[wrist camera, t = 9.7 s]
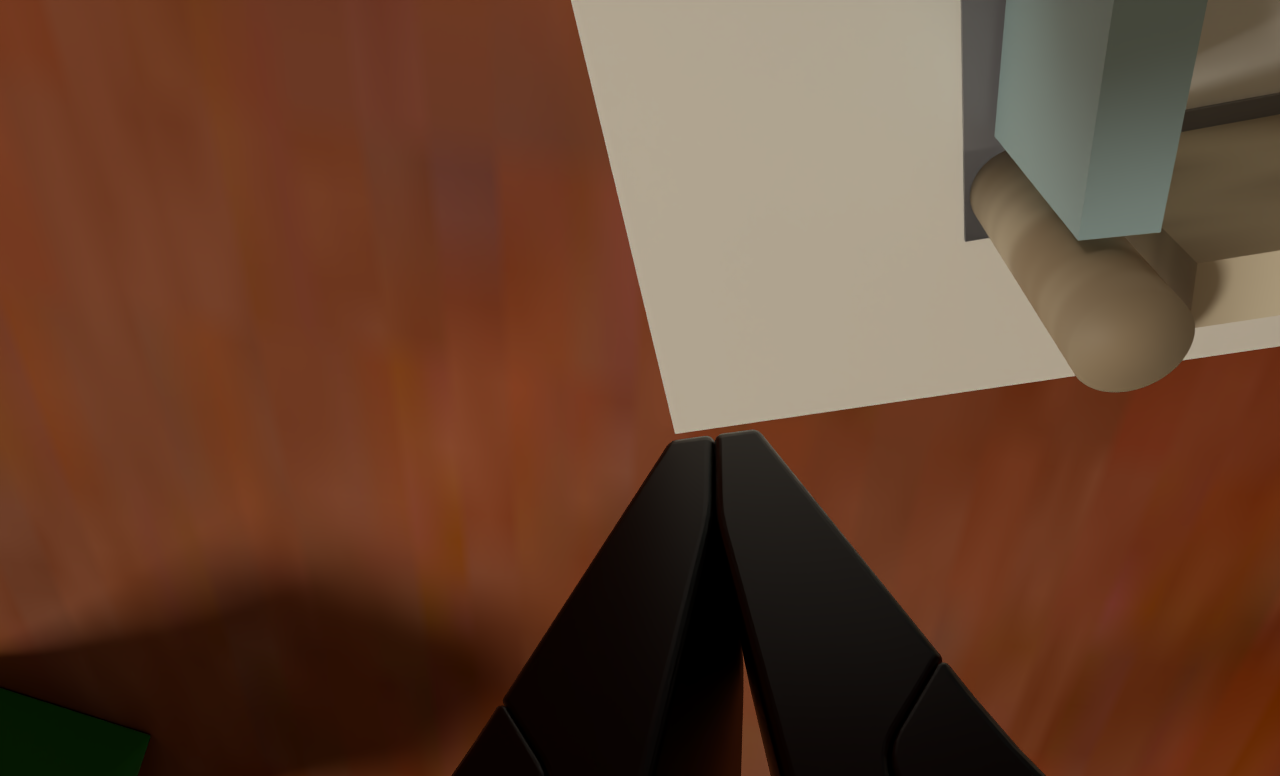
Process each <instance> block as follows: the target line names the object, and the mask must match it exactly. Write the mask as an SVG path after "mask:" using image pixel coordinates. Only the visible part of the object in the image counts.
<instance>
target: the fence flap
mask: <svg viewBox="0 0 1280 776" xmlns="http://www.w3.org/2000/svg"><path fill="white" fill-rule="evenodd" d="M1207 2H1208V0H1006V8H1005V19H1004V31H1003V42H1002V54H1001V66H1000V77H999V89H998V100H997V112H996V123H995V135H994V136H995V138H996V139H997V140H998V141H999V143H1000V144H1001V145H1002V146H1003V148H1004V149H1005V150H1006V151H1007V153H1008V154H1009V155H1010V156H1011V158H1012V159H1013V160H1014V161H1015V163H1016V164H1017V165H1018V166H1019V168H1020V169H1021V170H1022V171H1023V173H1024V174H1025V175H1026V176H1027V178H1028V179H1029V180H1030V181H1031V183H1032V184H1033V185H1034V186H1035V188H1036V189H1037V190H1038V191H1039V193H1040V194H1041V195H1042V196H1043V198H1044V199H1045V200H1046V201H1047V203H1048V204H1049V205H1050V206H1051V208H1052V209H1053V210H1054V211H1055V213H1056V214H1057V215H1058V216H1059V218H1060V219H1061V220H1062V221H1063V223H1064V224H1065V225H1066V226H1067V228H1068V229H1069V230H1070V231H1071V233H1072V234H1073V235H1074V236H1075V238H1076V239H1077V240H1078V241H1080V240H1090V239H1100V238H1110V237H1120V236H1130V235H1139V234H1149V233H1159V232H1161V228H1162V223H1163V218H1164V213H1165V208H1166V203H1167V198H1168V193H1169V188H1170V183H1171V179H1172V174H1173V169H1174V164H1175V159H1176V154H1177V149H1178V144H1179V139H1180V134H1181V129H1182V125H1183V120H1184V115H1185V110H1186V105H1187V100H1188V95H1189V90H1190V85H1191V80H1192V75H1193V70H1194V66H1195V61H1196V56H1197V51H1198V46H1199V41H1200V36H1201V31H1202V26H1203V21H1204V16H1205V11H1206V7H1207Z"/></svg>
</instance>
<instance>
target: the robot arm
mask: <svg viewBox="0 0 1280 776" xmlns="http://www.w3.org/2000/svg"><path fill="white" fill-rule="evenodd" d="M742 651H743V652H742ZM743 656H744V661H745V665H746V670H747V675H748V680H749V685H750V689H751V694H752V698H753V702H754V706H755V711H756V715H757V719H758V723H759V728H760V732H761V736H762V741H763V745H764V749H765V753H766V758H767V762H768V766H769V770H770V775H771V776H1046V775H1045V774H1044V773H1043V772H1042V771H1041V770H1040V769H1039V768H1038V767H1037V766H1036V765H1035V764H1034V763H1033V762H1032V761H1031V760H1030V759H1029V758H1028V757H1027V756H1026V755H1025V754H1024V753H1023V752H1022V751H1021V750H1020V749H1019V748H1018V746H1017V745H1016V744H1015V743H1014V742H1013V741H1012V740H1011V738H1010V737H1009V736H1008V735H1007V734H1006V733H1005V731H1004V730H1003V729H1002V728H1001V727H1000V726H999V725H998V723H997V722H996V721H995V720H994V719H993V718H992V716H991V715H990V714H989V713H988V712H987V711H986V710H985V708H984V707H983V706H982V705H981V704H980V703H979V701H978V700H977V699H976V698H975V697H974V696H973V694H972V693H971V692H970V691H969V689H968V688H967V687H966V686H965V684H964V683H963V682H962V681H961V679H960V678H959V677H958V676H957V674H956V673H955V672H954V671H953V670H952V668H951V667H950V666H949V665H948V664H947V663H942V657H941V655H940V654H939V653H938V652H937V650H936V649H935V648H934V647H933V646H932V644H931V643H930V642H929V641H928V639H927V638H926V637H925V636H924V634H923V633H922V632H921V631H920V629H919V628H918V627H917V626H916V624H915V623H914V622H913V621H912V620H911V618H910V617H909V616H908V615H907V613H906V612H905V611H904V610H903V608H902V607H901V606H900V605H899V603H898V602H897V601H896V600H895V598H894V597H893V596H892V595H891V594H890V592H889V591H888V590H887V589H886V587H885V586H884V585H883V584H882V582H881V581H880V580H879V579H878V577H877V576H876V575H875V574H874V572H873V571H872V570H871V569H870V568H869V566H868V565H867V564H866V563H865V561H864V560H863V559H862V558H861V556H860V555H859V554H858V553H857V551H856V550H855V549H854V548H853V546H852V545H851V544H850V543H849V542H848V540H847V539H846V538H845V537H844V535H843V534H842V533H841V532H840V530H839V529H838V528H837V527H836V525H835V524H834V523H833V522H832V520H831V519H830V518H829V517H828V516H827V514H826V513H825V512H824V511H823V509H822V508H821V507H820V506H819V504H818V503H817V502H816V501H815V499H814V498H813V497H812V496H811V495H810V493H809V492H808V491H807V490H806V488H805V487H804V486H803V485H802V483H801V482H800V481H799V480H798V478H797V477H796V476H795V475H794V473H793V472H792V471H791V470H790V469H789V467H788V466H787V465H786V464H785V462H784V461H783V460H782V459H781V457H780V456H779V455H778V454H777V452H776V451H775V450H774V449H773V447H772V446H771V445H770V444H769V443H768V441H767V440H766V439H765V438H764V436H763V435H762V434H761V433H760V432H759V431H756V430H747V431H739V432H732V433H725V434H720V435H719V436H717V437H716V440H715V442H714V440H713V439H712V438H711V437H709V436H703V437H695V438H688V439H680V440H675V441H672V442H671V443H669V444H668V445H667V447H666V448H665V450H664V451H663V453H662V454H661V456H660V458H659V459H658V461H657V462H656V464H655V465H654V467H653V468H652V470H651V471H650V473H649V475H648V476H647V478H646V479H645V481H644V482H643V484H642V485H641V487H640V488H639V490H638V492H637V493H636V495H635V496H634V498H633V499H632V501H631V502H630V504H629V505H628V507H627V509H626V510H625V512H624V513H623V515H622V516H621V518H620V519H619V521H618V522H617V524H616V525H615V527H614V529H613V530H612V532H611V533H610V535H609V536H608V538H607V539H606V541H605V542H604V544H603V546H602V547H601V549H600V550H599V552H598V553H597V555H596V556H595V558H594V559H593V561H592V563H591V564H590V566H589V567H588V569H587V570H586V572H585V573H584V575H583V576H582V578H581V579H580V581H579V583H578V584H577V586H576V587H575V589H574V590H573V592H572V593H571V595H570V596H569V598H568V600H567V601H566V603H565V604H564V606H563V607H562V609H561V610H560V612H559V613H558V615H557V617H556V618H555V620H554V621H553V623H552V624H551V626H550V627H549V629H548V630H547V632H546V633H545V635H544V637H543V638H542V640H541V641H540V643H539V644H538V646H537V647H536V649H535V650H534V652H533V654H532V655H531V657H530V658H529V660H528V661H527V663H526V664H525V666H524V667H523V669H522V671H521V672H520V674H519V675H518V677H517V678H516V680H515V681H514V683H513V684H512V686H511V687H510V689H509V691H508V692H507V694H506V695H505V697H504V699H503V703H504V706H503V705H501V706H498V707H497V708H496V710H495V711H494V713H493V715H492V716H491V718H490V719H489V721H488V722H487V724H486V725H485V727H484V728H483V730H482V732H481V733H480V735H479V736H478V738H477V739H476V741H475V742H474V744H473V745H472V747H471V748H470V750H469V751H468V752H467V754H466V755H465V757H464V758H463V760H462V761H461V763H460V764H459V766H458V767H457V768H456V770H455V771H454V773H453V774H452V776H741V756H742V721H743Z"/></svg>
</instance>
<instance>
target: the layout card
mask: <svg viewBox="0 0 1280 776" xmlns="http://www.w3.org/2000/svg"><path fill="white" fill-rule="evenodd" d="M571 2H572V6H573V10H574V15H575V19H576V23H577V27H578V31H579V35H580V40H581V44H582V48H583V52H584V56H585V60H586V65H587V69H588V73H589V77H590V81H591V85H592V89H593V94H594V98H595V102H596V106H597V110H598V114H599V119H600V123H601V127H602V131H603V135H604V139H605V144H606V148H607V152H608V156H609V160H610V164H611V169H612V173H613V177H614V181H615V185H616V189H617V194H618V198H619V202H620V206H621V210H622V214H623V219H624V223H625V227H626V231H627V235H628V239H629V243H630V248H631V252H632V256H633V260H634V264H635V268H636V273H637V277H638V281H639V285H640V289H641V293H642V298H643V302H644V306H645V310H646V314H647V318H648V323H649V327H650V331H651V335H652V339H653V343H654V348H655V352H656V356H657V360H658V364H659V368H660V373H661V377H662V381H663V385H664V389H665V393H666V397H667V402H668V406H669V410H670V414H671V418H672V422H673V427H674V431H675V434H677V433H684V432H691V431H698V430H705V429H712V428H719V427H726V426H733V425H740V424H746V423H753V422H760V421H767V420H774V419H781V418H788V417H795V416H802V415H809V414H815V413H822V412H829V411H836V410H843V409H850V408H857V407H864V406H871V405H877V404H884V403H891V402H898V401H905V400H912V399H919V398H926V397H933V396H940V395H946V394H953V393H960V392H967V391H974V390H981V389H988V388H995V387H1002V386H1009V385H1015V384H1022V383H1029V382H1036V381H1043V380H1050V379H1057V378H1064V377H1071V376H1075V374H1074V373H1073V371H1072V369H1071V368H1070V366H1069V365H1068V363H1067V361H1066V360H1065V358H1064V357H1063V355H1062V353H1061V352H1060V350H1059V349H1058V347H1057V345H1056V344H1055V342H1054V341H1053V339H1052V337H1051V336H1050V334H1049V333H1048V331H1047V329H1046V328H1045V326H1044V325H1043V323H1042V321H1041V320H1040V318H1039V317H1038V315H1037V313H1036V312H1035V310H1034V309H1033V307H1032V305H1031V304H1030V302H1029V301H1028V299H1027V297H1026V296H1025V294H1024V293H1023V291H1022V289H1021V288H1020V286H1019V284H1018V283H1017V281H1016V280H1015V278H1014V276H1013V275H1012V273H1011V272H1010V270H1009V268H1008V267H1007V265H1006V264H1005V262H1004V260H1003V259H1002V257H1001V256H1000V254H999V252H998V251H997V249H996V248H995V246H994V244H993V243H992V241H991V240H990V238H989V236H988V235H987V233H986V232H985V230H984V228H983V227H982V225H981V224H980V222H979V220H978V219H977V217H976V216H975V214H974V212H973V210H972V208H971V204H970V190H971V186H972V183H973V180H974V178H975V176H976V175H977V173H978V172H979V170H980V169H981V168H982V167H983V165H984V164H986V163H987V162H988V161H989V160H990V159H991V158H993V157H994V156H996V155H997V154H999V153H1001V152H1003V151H1006V150H1005V149H1004V148H1003V146H1002V145H1001V144H1000V143H999V141H998V140H997V139H996V138H995V136H994V135H995V123H996V112H997V100H998V89H999V77H1000V66H1001V54H1002V42H1003V31H1004V19H1005V8H1006V0H571ZM1279 114H1280V0H1208V2H1207V7H1206V11H1205V16H1204V21H1203V26H1202V31H1201V36H1200V41H1199V46H1198V51H1197V56H1196V61H1195V66H1194V70H1193V75H1192V80H1191V85H1190V90H1189V95H1188V100H1187V105H1186V110H1185V115H1184V120H1183V125H1182V129H1181V132H1184V131H1190V130H1195V129H1201V128H1206V127H1212V126H1217V125H1223V124H1229V123H1234V122H1240V121H1245V120H1251V119H1256V118H1262V117H1268V116H1273V115H1279ZM1277 346H1280V315H1278V316H1271V317H1265V318H1258V319H1251V320H1245V321H1238V322H1231V323H1225V324H1218V325H1211V326H1205V327H1198V328H1195V335H1194V339H1193V342H1192V345H1191V347H1190V349H1189V351H1188V353H1187V355H1186V356H1185V357H1184V359H1183V360H1188V359H1195V358H1202V357H1208V356H1215V355H1222V354H1229V353H1236V352H1243V351H1250V350H1257V349H1264V348H1271V347H1277Z"/></svg>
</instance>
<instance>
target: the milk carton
mask: <svg viewBox="0 0 1280 776" xmlns="http://www.w3.org/2000/svg"><path fill="white" fill-rule="evenodd" d="M149 740H150V735H148V734H145V733H142V732H138V731H135V730H132V729H129V728H126V727H123V726H120V725H116V724H113V723H110V722H107V721H104V720H101V719H97V718H94V717H91V716H88V715H85V714H82V713H78V712H75V711H72V710H69V709H66V708H63V707H59V706H56V705H53V704H50V703H47V702H44V701H40V700H37V699H34V698H31V697H28V696H24V695H21V694H18V693H15V692H12V691H9V690H5V689H2V688H0V776H138V773H139V770H140V767H141V764H142V761H143V758H144V755H145V752H146V749H147V746H148V743H149Z"/></svg>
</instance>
